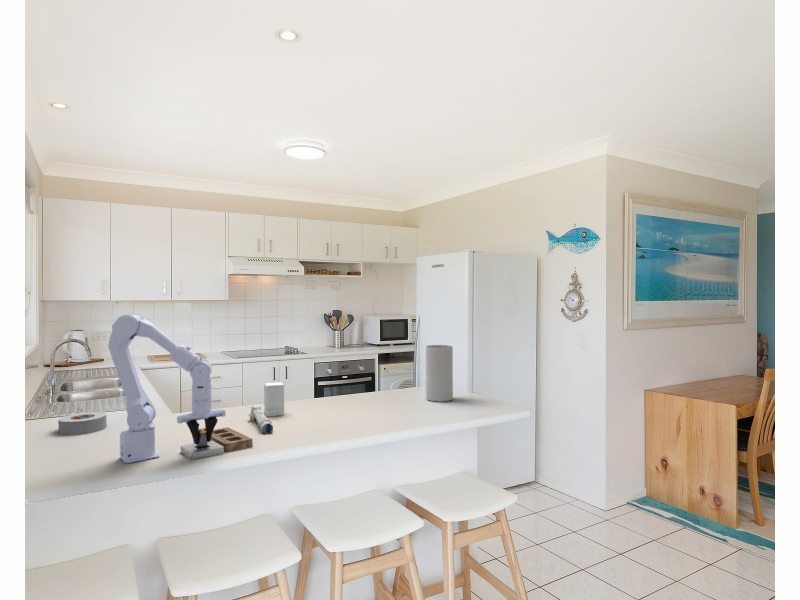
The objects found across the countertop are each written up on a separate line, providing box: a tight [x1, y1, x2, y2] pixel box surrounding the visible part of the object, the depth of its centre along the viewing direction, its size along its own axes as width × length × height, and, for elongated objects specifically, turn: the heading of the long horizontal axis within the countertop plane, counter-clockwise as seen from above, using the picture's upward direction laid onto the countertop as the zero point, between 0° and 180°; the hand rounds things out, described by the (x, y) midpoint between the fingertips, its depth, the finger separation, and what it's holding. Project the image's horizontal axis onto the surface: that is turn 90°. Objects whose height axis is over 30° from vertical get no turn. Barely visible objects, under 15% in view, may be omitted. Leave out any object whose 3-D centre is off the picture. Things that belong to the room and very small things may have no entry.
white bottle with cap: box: [248, 404, 274, 434], centre depth 201 cm, size 5×7×25 cm
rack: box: [210, 426, 254, 453], centre depth 178 cm, size 9×20×2 cm, turn 41°
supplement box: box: [263, 381, 285, 417], centre depth 220 cm, size 7×7×13 cm
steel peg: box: [197, 427, 208, 449], centre depth 167 cm, size 3×3×7 cm
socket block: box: [180, 440, 225, 461], centre depth 167 cm, size 10×10×2 cm
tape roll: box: [57, 411, 108, 436], centre depth 197 cm, size 15×15×5 cm
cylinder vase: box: [425, 344, 454, 403], centre depth 248 cm, size 12×12×25 cm
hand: (202, 442), depth 167 cm, fingers closed on steel peg, 3 cm apart
